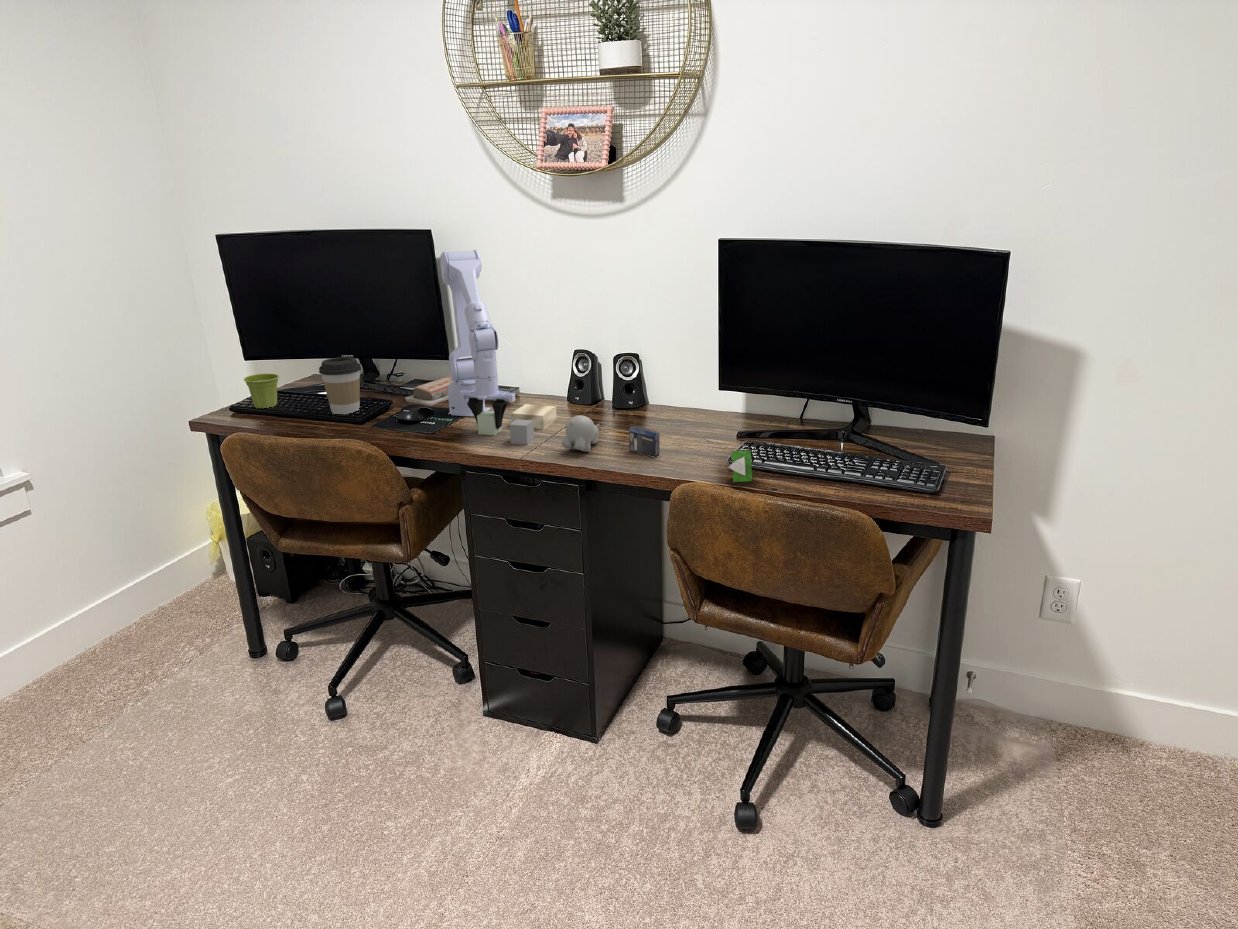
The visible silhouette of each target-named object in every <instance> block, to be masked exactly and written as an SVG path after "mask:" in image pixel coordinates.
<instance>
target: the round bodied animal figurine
mask: <svg viewBox="0 0 1238 929" xmlns="http://www.w3.org/2000/svg"><path fill="white" fill-rule="evenodd" d="M599 428H600V423H597V424H594V422H593V420H592V419H591V418H590V417H588V416H585V415H579V414H578V415H575V416H573V417H571V418H570V419H568V422H567V423H566V426H565V437H564V438H563V440H562V441H561V446H562V447H563V448H565V449H569V450H570V449H571V450H573V451H577V450H579V451H581V452H585V453H589V452H591V448H592V447H591V445H594V444H596V443H598V441H599V435H600V430H599Z"/></svg>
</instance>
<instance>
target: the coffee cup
mask: <svg viewBox="0 0 1238 929" xmlns="http://www.w3.org/2000/svg"><path fill="white" fill-rule="evenodd" d="M318 370H319V371H318V373H319V374H321V378H322V381H323V385H324V390H325V393H326V396H327V399H328V400H327V401H328V403H329V407H330V411H331V413H332V415H333V414H349V413H353V412H355V411H358V410H359V411H360V409H361V408H360V402H361V399H360V393H361V391H360V387H361V385H360V384H361V383H360V382H361V379H360V378H361V376H360V375H361V374H360V373H361V372H360V371H361V370H362V365H361V364H360V363H359V362H358V360H357V359H356V358H355V357H351V356H338V357H333V358H327V359H325V360H322V361H321V364H320V366H319V368H318ZM359 408H360V409H359Z"/></svg>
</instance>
